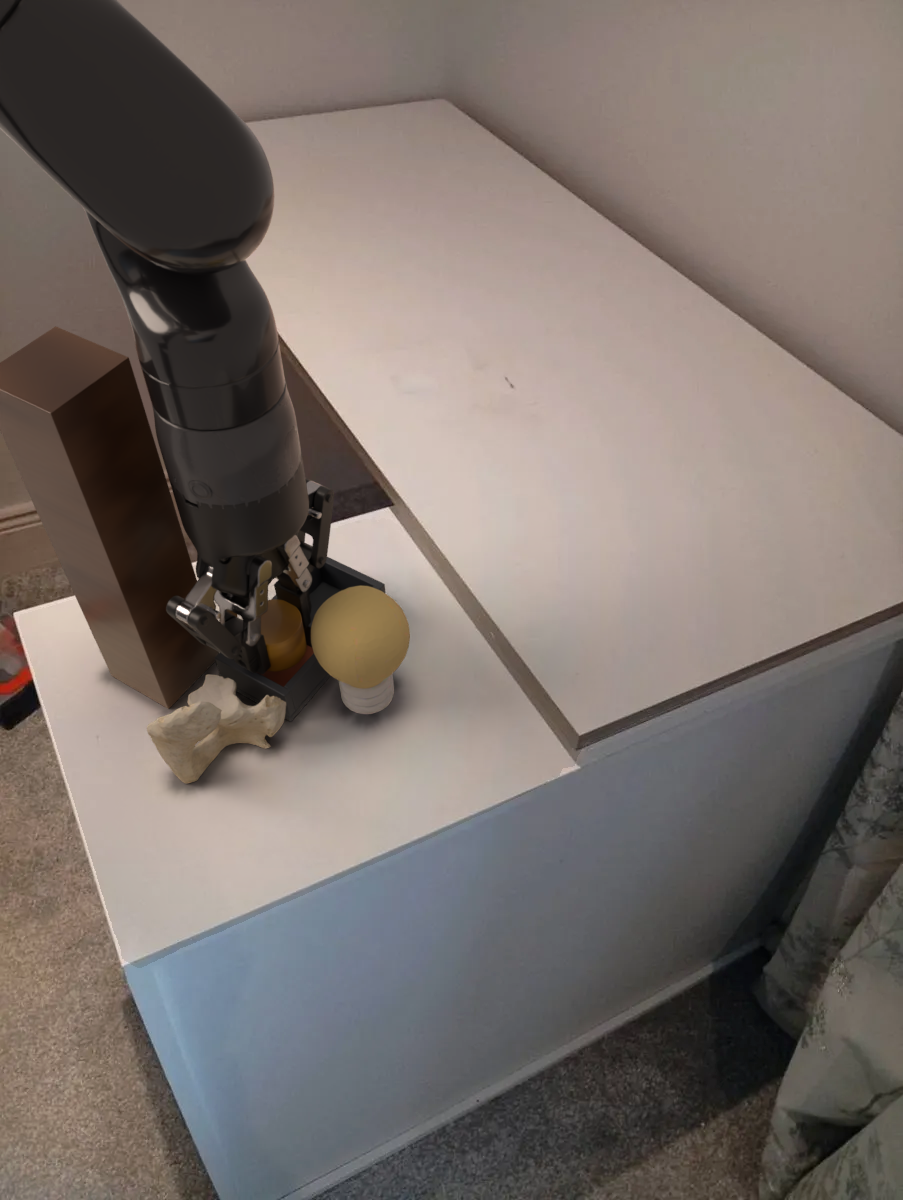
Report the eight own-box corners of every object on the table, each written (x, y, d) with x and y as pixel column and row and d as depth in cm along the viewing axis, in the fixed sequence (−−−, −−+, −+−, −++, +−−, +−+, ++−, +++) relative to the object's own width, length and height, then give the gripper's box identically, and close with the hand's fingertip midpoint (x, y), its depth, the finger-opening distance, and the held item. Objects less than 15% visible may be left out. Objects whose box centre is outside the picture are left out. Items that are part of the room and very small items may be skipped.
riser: (168, 709, 68) (50, 413, 49) (111, 676, 70) (-25, 378, 51) (220, 656, 71) (129, 357, 52) (164, 625, 73) (55, 325, 54)
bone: (270, 657, 69) (262, 638, 60) (301, 743, 69) (298, 737, 59) (151, 699, 68) (123, 687, 58) (181, 788, 67) (158, 790, 57)
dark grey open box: (291, 722, 68) (285, 696, 65) (222, 683, 70) (213, 657, 67) (387, 610, 74) (385, 583, 72) (321, 578, 76) (317, 551, 74)
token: (282, 680, 66) (276, 653, 64) (237, 656, 68) (229, 628, 66) (318, 641, 69) (313, 613, 66) (273, 618, 70) (267, 590, 68)
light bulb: (360, 751, 66) (347, 662, 58) (304, 693, 69) (285, 601, 62) (431, 700, 69) (428, 608, 61) (375, 646, 72) (365, 552, 64)
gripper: (261, 368, 60) (296, 559, 73) (92, 505, 52) (165, 692, 65) (361, 408, 57) (379, 599, 70) (199, 559, 50) (252, 742, 63)
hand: (276, 643), depth 68 cm, fingers closed on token, 4 cm apart
